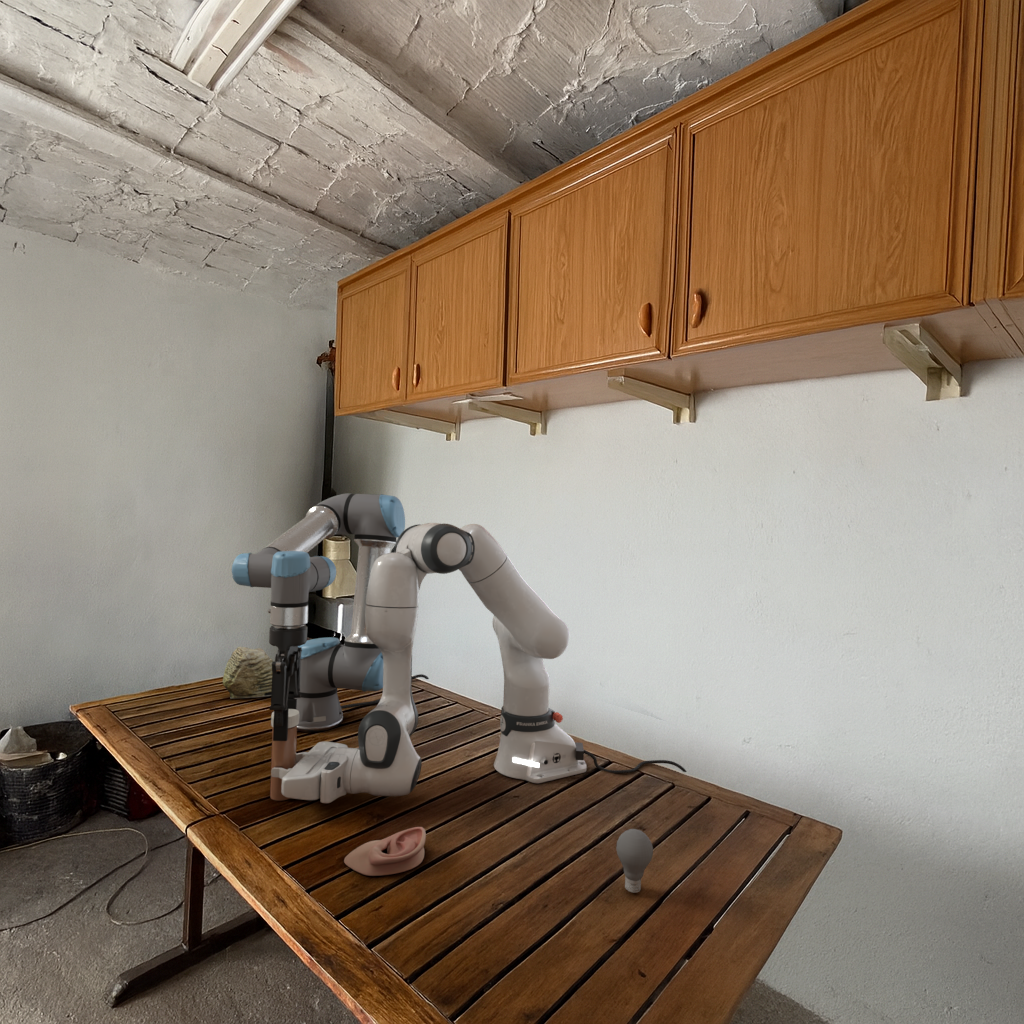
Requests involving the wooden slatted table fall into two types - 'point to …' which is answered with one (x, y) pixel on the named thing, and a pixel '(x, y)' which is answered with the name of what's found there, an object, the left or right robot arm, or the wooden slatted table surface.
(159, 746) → the wooden slatted table surface
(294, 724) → the lid
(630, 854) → the light bulb
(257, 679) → the fossil
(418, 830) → the anatomical model
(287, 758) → the brown bottle
